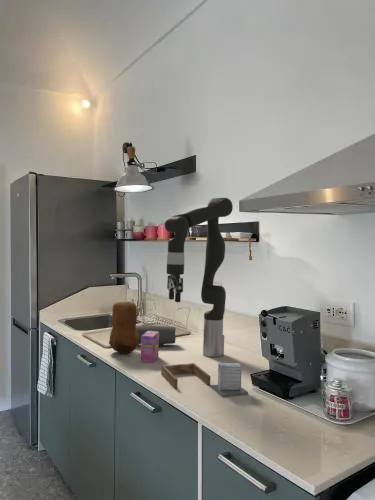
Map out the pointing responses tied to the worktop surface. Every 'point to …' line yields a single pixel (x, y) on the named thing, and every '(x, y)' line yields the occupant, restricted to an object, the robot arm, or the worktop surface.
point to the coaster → (229, 391)
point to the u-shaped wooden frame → (169, 370)
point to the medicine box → (229, 376)
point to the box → (149, 346)
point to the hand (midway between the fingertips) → (174, 300)
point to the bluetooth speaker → (164, 333)
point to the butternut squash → (124, 327)
